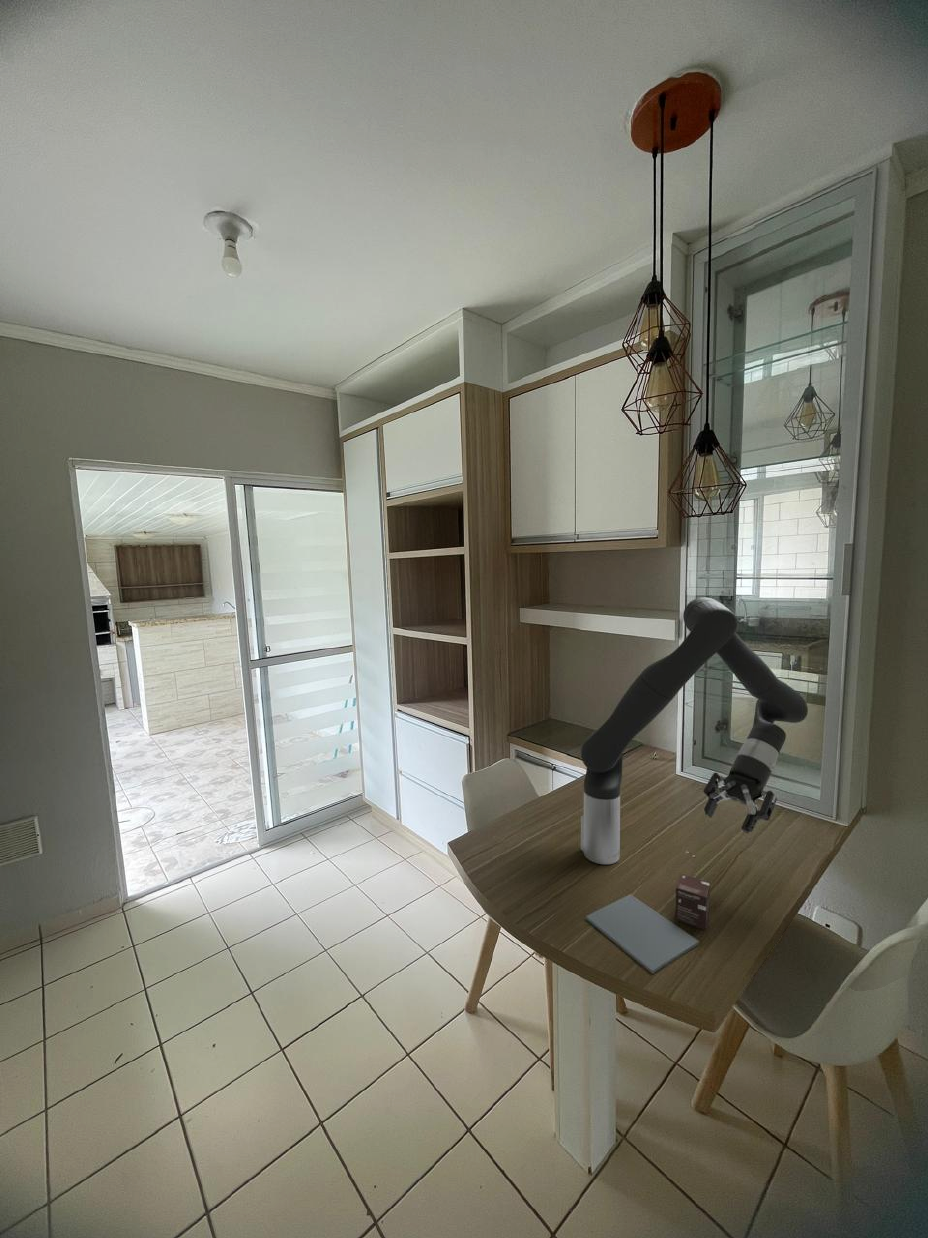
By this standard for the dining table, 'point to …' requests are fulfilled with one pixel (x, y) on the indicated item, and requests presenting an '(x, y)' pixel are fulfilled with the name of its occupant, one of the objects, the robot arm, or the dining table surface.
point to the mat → (642, 932)
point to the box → (692, 901)
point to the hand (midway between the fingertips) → (725, 823)
